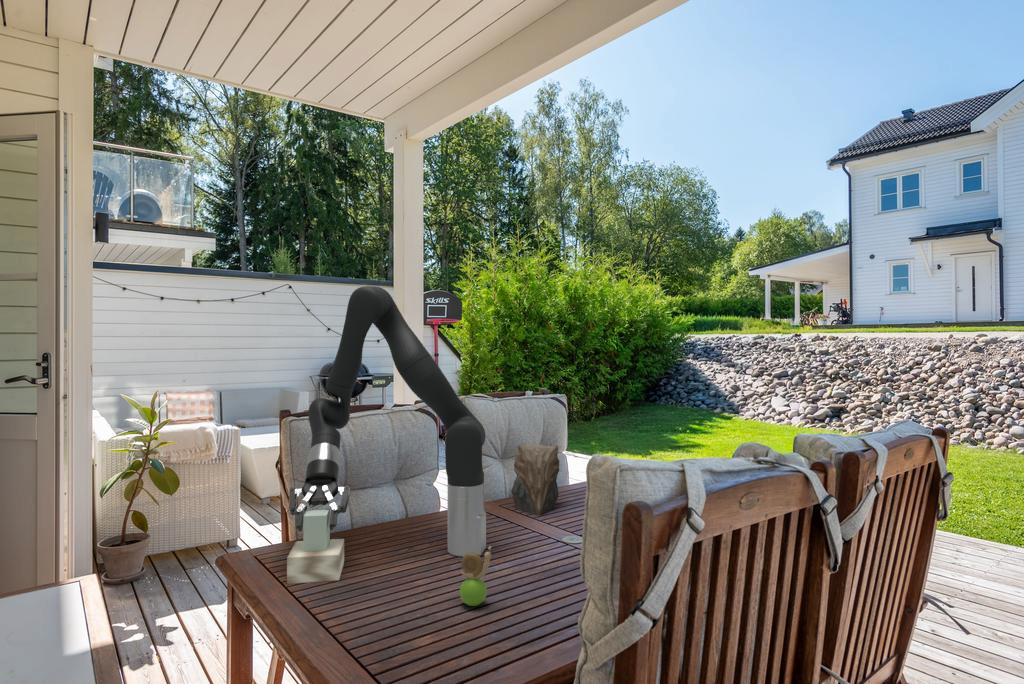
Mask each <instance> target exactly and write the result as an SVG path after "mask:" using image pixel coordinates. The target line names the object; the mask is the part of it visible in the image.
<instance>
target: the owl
mask: <svg viewBox="0 0 1024 684" xmlns="http://www.w3.org/2000/svg"><path fill="white" fill-rule="evenodd" d="M558 447H559V446H558V445H548V444H545V443H538V444H536V445H535V444H532V445H527V444H517V450H518V452H517V455H516V457H515V458H514V463H513V470H514V472H515V474H516V477H515V480H514V481H513V486H512V488H511V491H510V492H511V495H512V498H513V503H514V506H515V507H514V509H515V510H518V511H521V512H524V513H527V514H530V515H534V516H540V517H541V516H542V515H545V514H547V513H548V512H550V511H552V510H554V509H556V504H557V500H558V498H559V487H558V483H557V480H558V479H557V478H558V474H559V472H560V459H559V457H558V454H559V448H558Z"/></svg>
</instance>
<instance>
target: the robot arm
mask: <svg viewBox="0 0 1024 684" xmlns="http://www.w3.org/2000/svg"><path fill="white" fill-rule="evenodd" d="M346 308H347V309H346V314H345V317H344V318H345V319H344V323H343V324H344V325H343V328H342V334H341V338H340V341H339V345H338V348H337V353H336V356H335V358H334V361H333V365H332V367H331V370H330V372H329V374H328V377H327V380H326V383H325V389H326V391H327V392H329V393H330V394H331V395H334V396H336V397H337V398H339V399H340V401H337V400H336V401H335V400H331V399H328V398H324V397H318V398H315V399H314V400H312V402H311V403H310V405H309V406H308V412H307V413H308V414H307V415H308V422H309V425H310V431H311V432H310V433H311V445H310V451H309V454H308V459H307V465H306V472H305V478H304V484H303V486H302V487H300V488H295V487H290V488H289V494H288V495H289V497H288V499H289V500H288V501H289V502H288V509H289V513H290V516H296V517H295V529H296V530H298V532H303V516H304V515H305V513H306V512H307V510H310V509H311V507H313V506H318V505H321V506H326V505H328V508H329V509H330V524H329V527H330V531H333V530H334V528H336V527H337V526H338V525H337V523H338V516H339V514H341V513H342V514H344V513H346V512H347V510H348V505H349V500H350V494H351V491H350V485H347V484H346V485H344V486H339V485H338V480H339V471H340V469H339V468H340V464H341V463H340V460H341V459H340V457H341V455H340V448H341V439H342V438H341V433H340V431H339V430H342V429H343V428H345V427H346V426H347V425H348V423H349V421H350V417H351V403H352V402H351V401H352V396H353V392H354V388H355V385H356V383H357V379H358V377H359V375H360V372H361V367H362V362H363V350H364V344H365V340H366V336H367V334H368V333H369V330H370V328H371V327H372V326H373V325H374V326H375V327H376V329H377V330H378V331H379V332H380V334H381V335H382V336H383V338H384V339H385V341H386V343H387V345H388V347H389V350H390V353H391V357H392V360H393V364H394V366H395V368H396V370H397V372H398V374H399V375H400V376H401V378H402V380H403V381H404V382H405V384H406V385H407V387H408V388H409V389H410V390H411V392H412V393H413V394H414V395H415V396H416V397H417V398H419V399H420V400H421V401H422V402H423V403H424V404H425V405H426V406H427V407H429V408H430V409H431V410H432V411H433V412H434V413H435V414H436V416H437V417H438V418H439V420H440V421H441V423H442V425H443V426H444V428H445V430H446V433H445V434H446V435H445V441H444V444H445V445H444V452H445V473H446V476H447V541H446V542H447V543H446V544H447V553H449V554H450V555H452V556H456V557H464V556H465V555H466V554H468V553H475V554H477V555H479V556H482V554H484V553H483V552H484V551H485V550H486V548H487V511H486V510H485V473H484V470H483V445H484V444H485V442H486V430H485V428H484V426H483V424H482V423H481V422H480V421H479V419H478V418H477V417H476V416H475V415H474V414H473V413H472V411H470V409H468V407H467V406H466V405H465V404H464V402H463V401H462V400H461V399H460V398H459V396H458V395H457V393H456V392H455V390H454V388H453V387H452V385H451V382H450V381H449V380H448V378H447V376H446V375H445V374H444V372H443V371H442V369H441V367H440V366H439V365H438V363H437V362H436V361H435V359H434V358H433V356H432V355H431V354H430V353H429V351H428V350H427V349H426V347H425V346H424V344H423V343H422V342H421V340H420V339H419V337H418V336H417V335H416V334H415V332H414V331H413V330H412V329H411V327H410V326H409V325H408V323H407V321H406V319H405V318H404V316H403V315H402V313H401V311H400V309H399V308H398V306H397V303H396V302H395V300H394V299H393V297H392V296H391V294H390V292H388V291H387V290H386V289H384V288H382V287H379V286H371V285H370V286H369V285H368V286H359V287H357V289H355V290H354V291H352V293H351V295H350V297H349V300H348V303H347V307H346ZM372 324H373V325H372ZM338 494H340V497H341V499H340V505H337V504H336V502H335V500H334V498H335V497H336V496H337V495H338ZM300 495H303V498H302V500H301V503H300V504H299V506H298V507H297V500H298V499H299V498H300Z"/></svg>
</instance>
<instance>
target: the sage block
mask: <svg viewBox="0 0 1024 684" xmlns="http://www.w3.org/2000/svg"><path fill="white" fill-rule="evenodd" d="M330 514H331V509H330V508H329V509H328V508H327V509H309V510H307V511H306V513H305V514H304V516H303V528H302V532H303V534H302V535H303V537H302V538H303V540H302V541H303V552H311V551H327V548H328V546H329V544H330V537H331V536H330V535H331V533H330V532H331V530H330V527H329V524H330Z"/></svg>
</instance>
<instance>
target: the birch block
mask: <svg viewBox="0 0 1024 684" xmlns="http://www.w3.org/2000/svg"><path fill="white" fill-rule="evenodd" d="M292 546H293V547H292V548H291V550H290V551H289V554H288V556H287V558H286V584H287V585H288V584H305V583H319V582H320V583H321V582H322V583H323V582H333V581H340V579H341V575H342V571H343V568H344V564H345V538H332V539H330V544H329V546H328V548H327V551H311V552H303V540H298V541H297V540H296V541H295V543H294V545H292Z"/></svg>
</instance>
